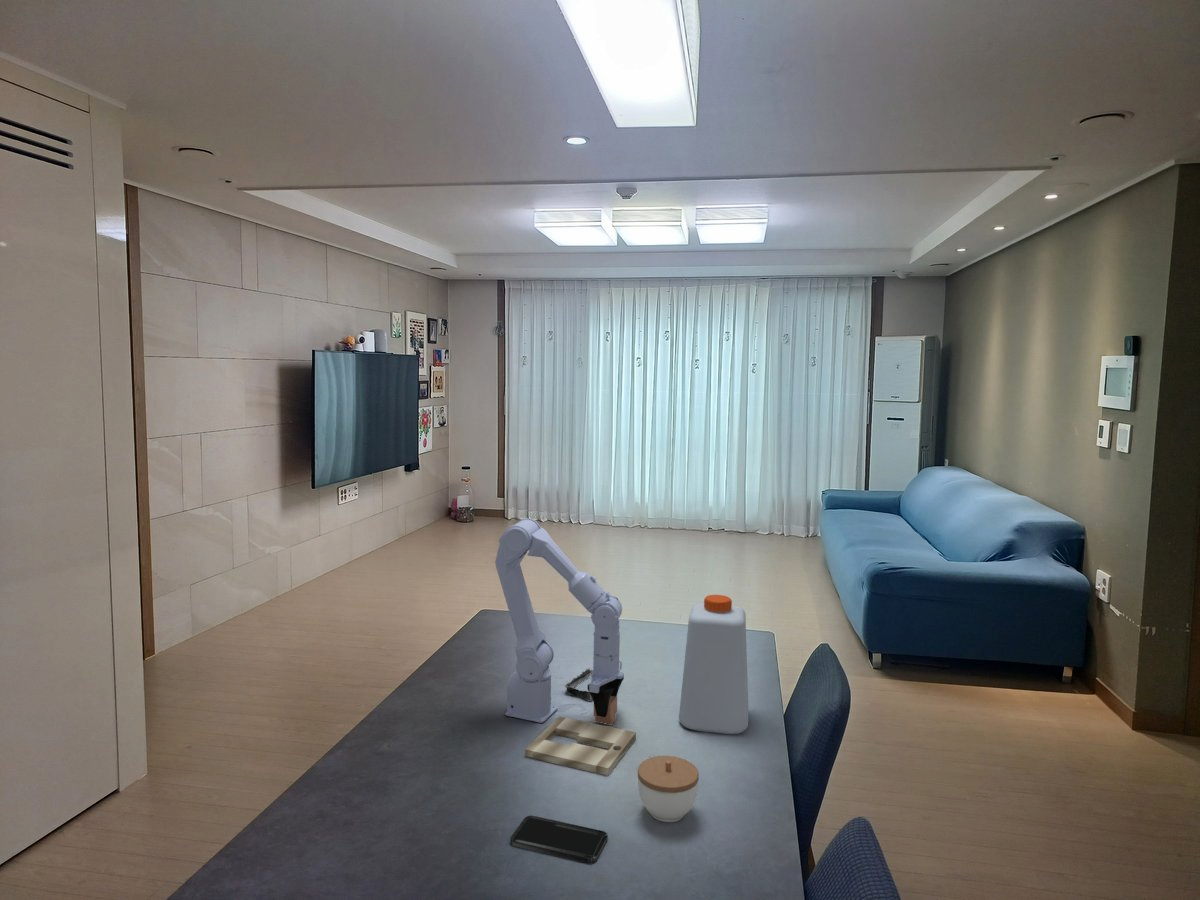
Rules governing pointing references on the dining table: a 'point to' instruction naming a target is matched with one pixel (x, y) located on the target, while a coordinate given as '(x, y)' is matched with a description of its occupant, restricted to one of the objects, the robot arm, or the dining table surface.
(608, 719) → the slider block
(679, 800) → the lidded jar
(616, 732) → the keyhole board
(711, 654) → the plastic bottle
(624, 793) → the dining table surface
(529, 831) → the phone
